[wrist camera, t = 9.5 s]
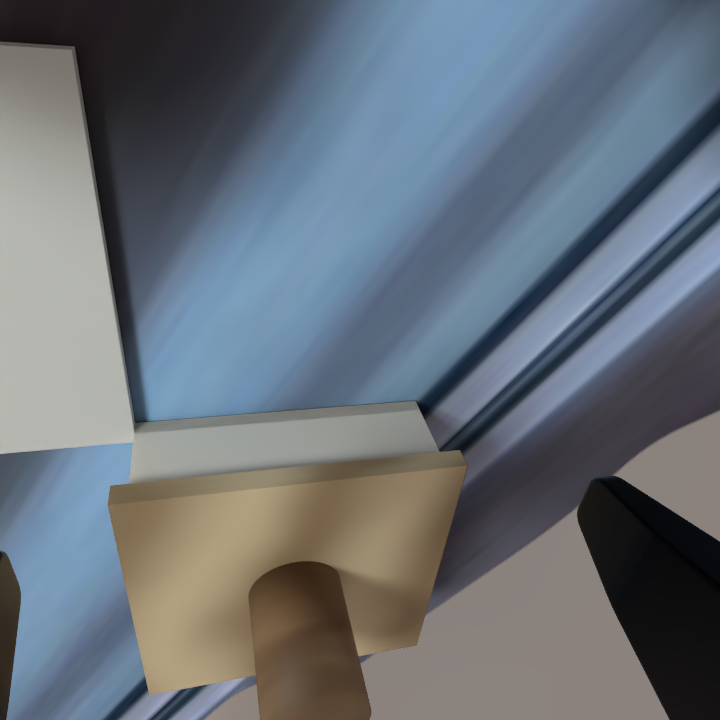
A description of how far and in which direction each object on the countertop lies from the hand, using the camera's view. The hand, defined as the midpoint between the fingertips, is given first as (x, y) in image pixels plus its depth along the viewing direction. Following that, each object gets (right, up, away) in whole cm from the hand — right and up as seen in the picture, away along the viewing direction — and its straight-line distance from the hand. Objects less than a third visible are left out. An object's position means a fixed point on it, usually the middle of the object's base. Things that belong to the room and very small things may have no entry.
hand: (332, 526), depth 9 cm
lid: (-2, -6, +15) cm, 16 cm away
